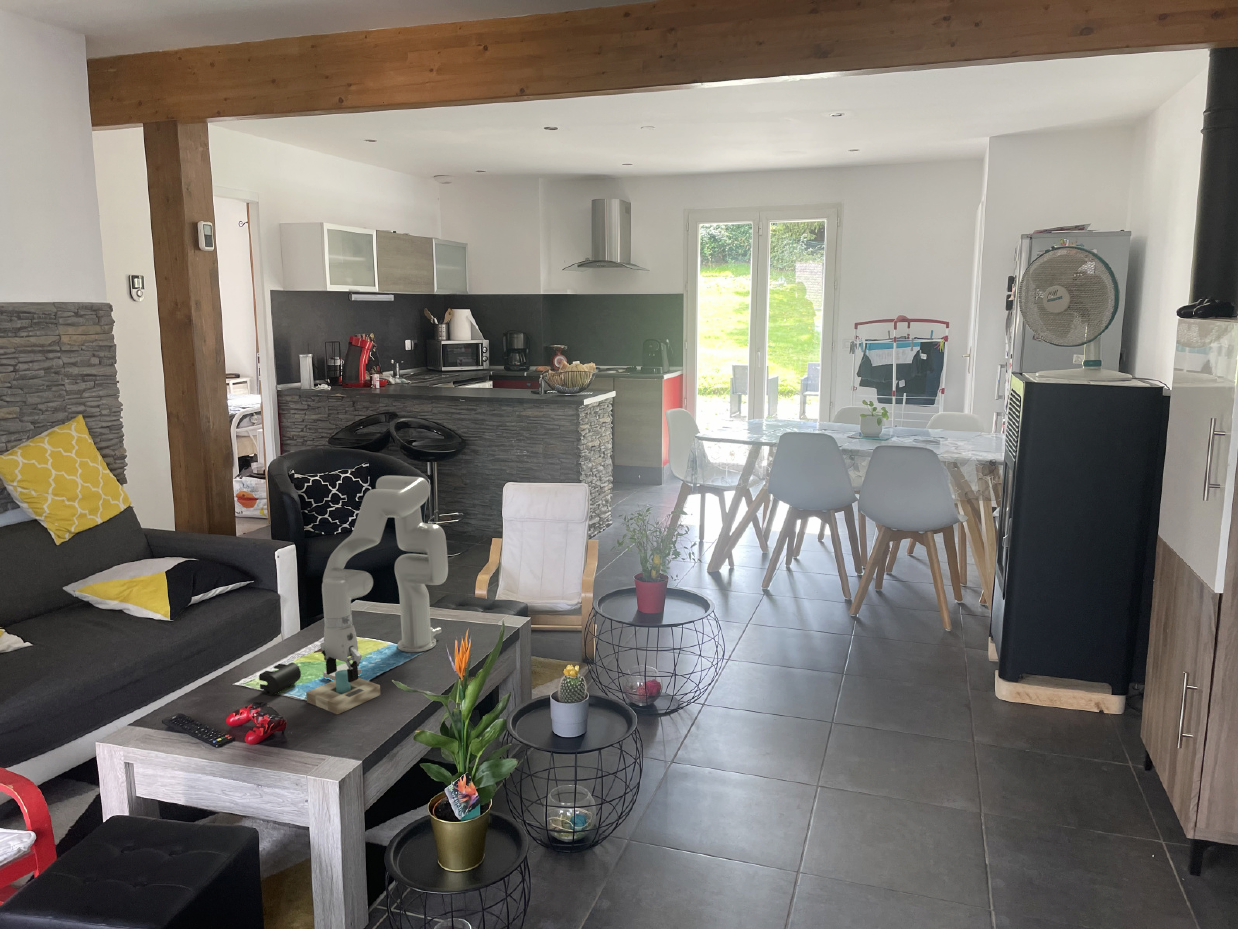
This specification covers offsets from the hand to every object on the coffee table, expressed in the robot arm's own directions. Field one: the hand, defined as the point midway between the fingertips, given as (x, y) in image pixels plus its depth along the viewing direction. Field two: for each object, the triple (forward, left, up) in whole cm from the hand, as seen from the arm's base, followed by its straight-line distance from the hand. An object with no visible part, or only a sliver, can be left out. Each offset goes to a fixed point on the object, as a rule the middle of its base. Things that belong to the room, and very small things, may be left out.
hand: (342, 676), depth 252 cm
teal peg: (0, 0, -7) cm, 7 cm away
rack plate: (0, 0, -7) cm, 7 cm away
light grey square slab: (-10, -13, -7) cm, 17 cm away
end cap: (+6, -21, -7) cm, 23 cm away
